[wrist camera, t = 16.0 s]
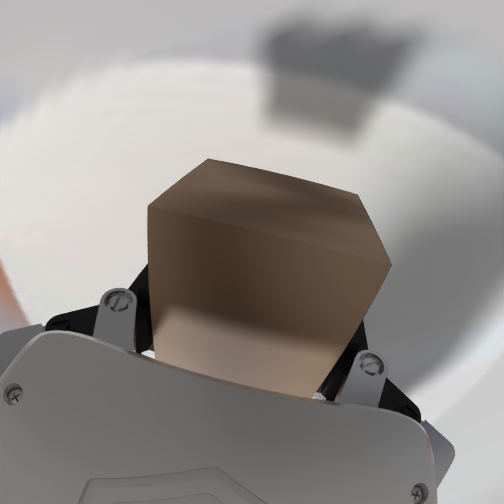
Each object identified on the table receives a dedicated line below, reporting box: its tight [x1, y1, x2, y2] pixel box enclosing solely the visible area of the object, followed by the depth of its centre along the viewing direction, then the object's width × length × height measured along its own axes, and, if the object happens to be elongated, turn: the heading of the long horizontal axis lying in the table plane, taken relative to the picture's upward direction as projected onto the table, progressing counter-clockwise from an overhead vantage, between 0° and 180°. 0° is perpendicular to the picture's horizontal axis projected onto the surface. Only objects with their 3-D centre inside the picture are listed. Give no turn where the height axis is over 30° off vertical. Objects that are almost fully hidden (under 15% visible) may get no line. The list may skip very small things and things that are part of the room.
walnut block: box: [147, 159, 392, 398], centre depth 11 cm, size 6×8×5 cm
